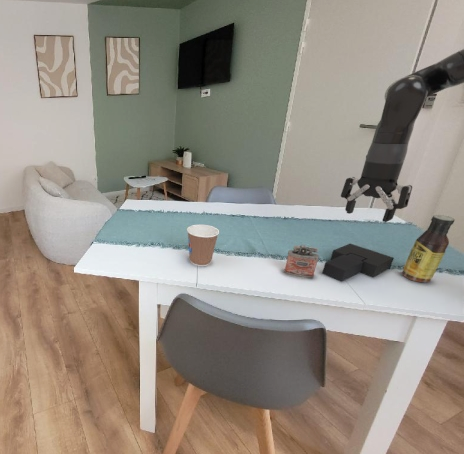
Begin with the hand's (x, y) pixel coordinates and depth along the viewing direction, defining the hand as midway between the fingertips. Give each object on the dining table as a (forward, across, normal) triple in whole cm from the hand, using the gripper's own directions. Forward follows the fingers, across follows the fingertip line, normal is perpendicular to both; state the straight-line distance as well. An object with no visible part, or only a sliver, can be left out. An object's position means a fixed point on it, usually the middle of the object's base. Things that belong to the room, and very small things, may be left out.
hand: (366, 216), depth 83 cm
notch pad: (+19, +1, -9) cm, 21 cm away
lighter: (+19, +8, +13) cm, 24 cm away
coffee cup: (+19, +30, +33) cm, 48 cm away
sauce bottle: (+19, -11, -13) cm, 26 cm away
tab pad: (+19, +1, 0) cm, 19 cm away
